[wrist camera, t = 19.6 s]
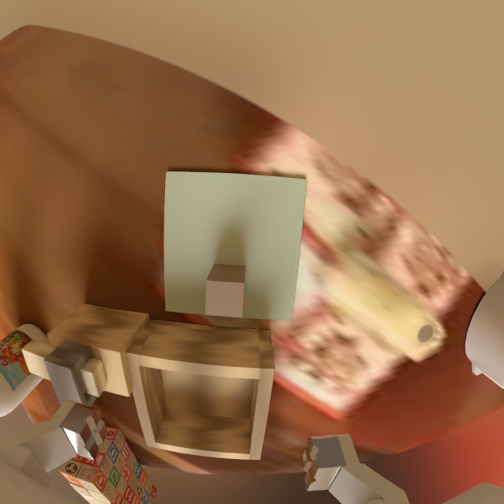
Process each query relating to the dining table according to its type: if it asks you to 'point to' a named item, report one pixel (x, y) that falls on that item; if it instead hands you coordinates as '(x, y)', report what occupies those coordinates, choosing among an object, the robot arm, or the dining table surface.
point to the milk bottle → (17, 367)
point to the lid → (232, 244)
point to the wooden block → (88, 373)
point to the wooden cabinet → (172, 377)
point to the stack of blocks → (110, 474)
